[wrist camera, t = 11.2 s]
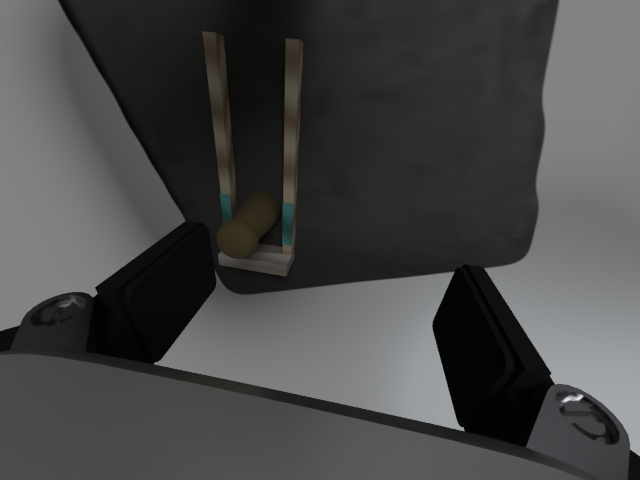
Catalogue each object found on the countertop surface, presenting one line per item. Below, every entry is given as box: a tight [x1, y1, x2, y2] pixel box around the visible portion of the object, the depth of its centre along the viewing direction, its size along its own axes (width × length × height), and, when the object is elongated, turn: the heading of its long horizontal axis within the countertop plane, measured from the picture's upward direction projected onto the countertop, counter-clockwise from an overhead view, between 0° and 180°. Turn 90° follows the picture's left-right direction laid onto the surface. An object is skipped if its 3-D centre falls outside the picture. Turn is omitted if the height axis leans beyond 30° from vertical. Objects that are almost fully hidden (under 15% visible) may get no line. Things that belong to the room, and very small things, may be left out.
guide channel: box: [202, 31, 303, 276], centre depth 36 cm, size 30×11×5 cm, turn 175°
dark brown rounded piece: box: [217, 192, 281, 259], centre depth 37 cm, size 6×6×11 cm
